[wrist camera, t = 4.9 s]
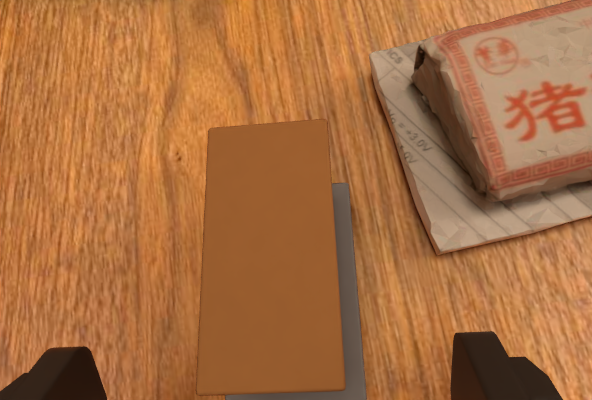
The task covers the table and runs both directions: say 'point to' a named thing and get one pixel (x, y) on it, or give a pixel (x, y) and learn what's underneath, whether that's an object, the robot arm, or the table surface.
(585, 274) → the table surface
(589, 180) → the packaged product
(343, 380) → the eraser
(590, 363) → the table surface
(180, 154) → the table surface
